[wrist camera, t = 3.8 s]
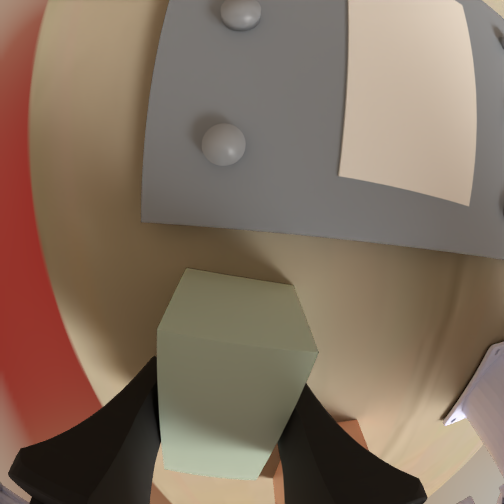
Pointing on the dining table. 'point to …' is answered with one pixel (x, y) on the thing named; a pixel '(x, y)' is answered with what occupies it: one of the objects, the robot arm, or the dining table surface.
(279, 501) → the terracotta brick
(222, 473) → the sage brick
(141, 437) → the robot arm
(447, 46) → the baseplate
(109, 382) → the dining table surface
